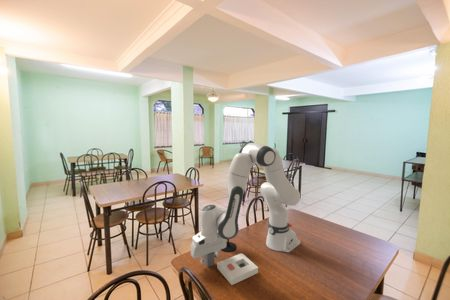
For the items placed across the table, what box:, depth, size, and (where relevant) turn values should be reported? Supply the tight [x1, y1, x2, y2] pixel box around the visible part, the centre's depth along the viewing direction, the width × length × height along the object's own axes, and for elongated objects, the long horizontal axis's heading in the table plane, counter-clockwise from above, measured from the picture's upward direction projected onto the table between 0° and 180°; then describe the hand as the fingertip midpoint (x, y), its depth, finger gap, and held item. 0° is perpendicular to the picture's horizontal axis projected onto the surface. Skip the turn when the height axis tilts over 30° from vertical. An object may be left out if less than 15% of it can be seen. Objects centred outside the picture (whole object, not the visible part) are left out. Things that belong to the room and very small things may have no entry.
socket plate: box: [216, 252, 259, 286], centre depth 107 cm, size 16×14×4 cm
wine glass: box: [220, 239, 237, 253], centre depth 127 cm, size 10×10×20 cm
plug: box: [203, 252, 215, 268], centre depth 112 cm, size 4×4×7 cm
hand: (209, 259), depth 112 cm, fingers open, 7 cm apart
